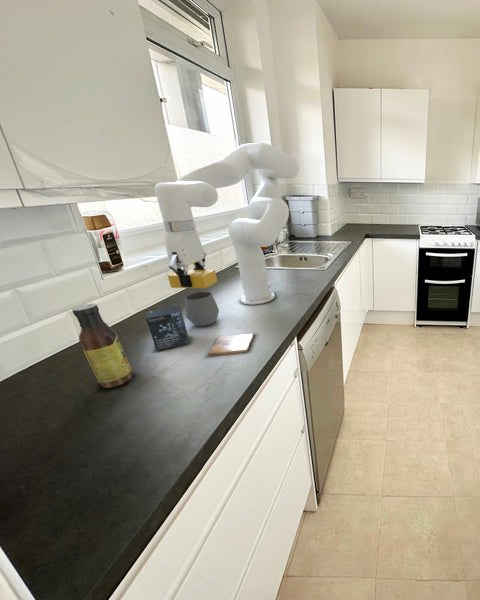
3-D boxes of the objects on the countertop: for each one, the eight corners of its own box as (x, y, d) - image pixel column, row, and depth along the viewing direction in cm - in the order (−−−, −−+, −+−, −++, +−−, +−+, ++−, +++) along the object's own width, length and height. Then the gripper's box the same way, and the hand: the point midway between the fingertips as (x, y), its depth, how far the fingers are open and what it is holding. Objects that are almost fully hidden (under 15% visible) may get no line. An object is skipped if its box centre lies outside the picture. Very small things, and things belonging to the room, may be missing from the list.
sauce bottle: (140, 376, 78) (112, 303, 70) (111, 392, 72) (78, 314, 65) (122, 371, 80) (93, 299, 72) (93, 386, 74) (58, 310, 67)
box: (156, 352, 88) (145, 318, 84) (157, 343, 93) (146, 311, 89) (189, 344, 92) (179, 311, 88) (188, 336, 97) (179, 305, 93)
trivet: (219, 338, 96) (218, 336, 95) (254, 335, 98) (253, 333, 97) (208, 356, 86) (207, 353, 86) (247, 351, 89) (246, 349, 88)
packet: (185, 281, 103) (181, 269, 102) (217, 281, 103) (214, 270, 101) (171, 287, 97) (167, 275, 96) (205, 288, 97) (202, 276, 95)
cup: (186, 331, 100) (178, 302, 96) (191, 319, 108) (184, 292, 104) (220, 326, 103) (213, 298, 100) (222, 315, 111) (216, 289, 107)
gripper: (187, 222, 101) (200, 275, 108) (145, 231, 85) (163, 292, 92) (209, 222, 101) (221, 275, 108) (171, 231, 85) (188, 292, 92)
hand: (194, 282), depth 100 cm, fingers closed on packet, 6 cm apart
